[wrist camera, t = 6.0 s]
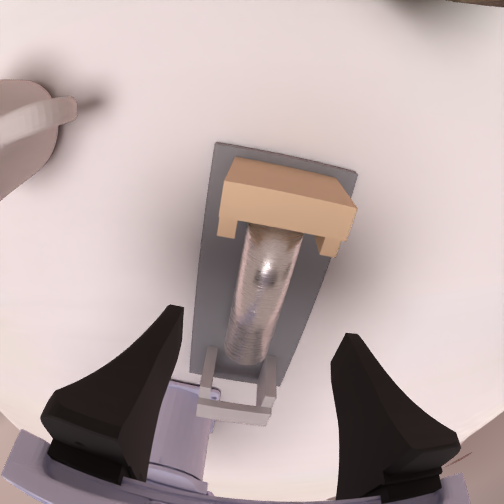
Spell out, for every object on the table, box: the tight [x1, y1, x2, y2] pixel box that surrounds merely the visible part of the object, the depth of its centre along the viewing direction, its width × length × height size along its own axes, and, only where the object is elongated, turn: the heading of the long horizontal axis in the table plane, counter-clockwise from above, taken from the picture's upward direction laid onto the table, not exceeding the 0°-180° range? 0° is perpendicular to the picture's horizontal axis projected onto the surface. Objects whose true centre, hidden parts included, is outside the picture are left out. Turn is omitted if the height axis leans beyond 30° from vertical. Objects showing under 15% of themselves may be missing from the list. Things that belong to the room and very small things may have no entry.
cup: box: [0, 80, 78, 201], centre depth 12 cm, size 11×8×8 cm
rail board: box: [190, 142, 358, 426], centre depth 19 cm, size 19×8×5 cm, turn 170°
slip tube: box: [224, 222, 304, 366], centre depth 18 cm, size 11×3×3 cm, turn 170°
